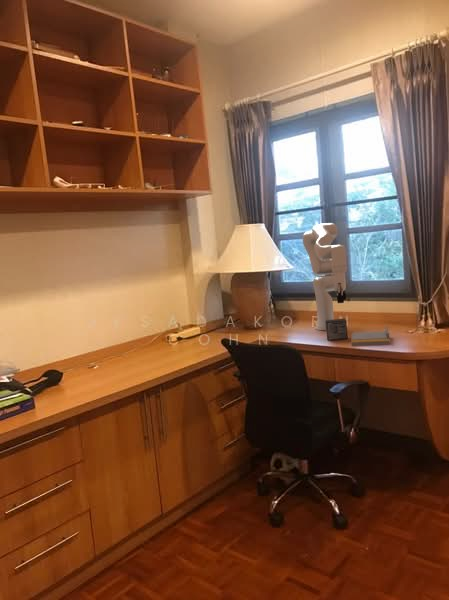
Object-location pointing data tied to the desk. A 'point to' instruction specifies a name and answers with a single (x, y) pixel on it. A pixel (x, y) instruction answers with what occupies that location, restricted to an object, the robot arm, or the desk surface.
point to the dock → (371, 338)
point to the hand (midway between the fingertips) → (341, 301)
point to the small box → (336, 329)
